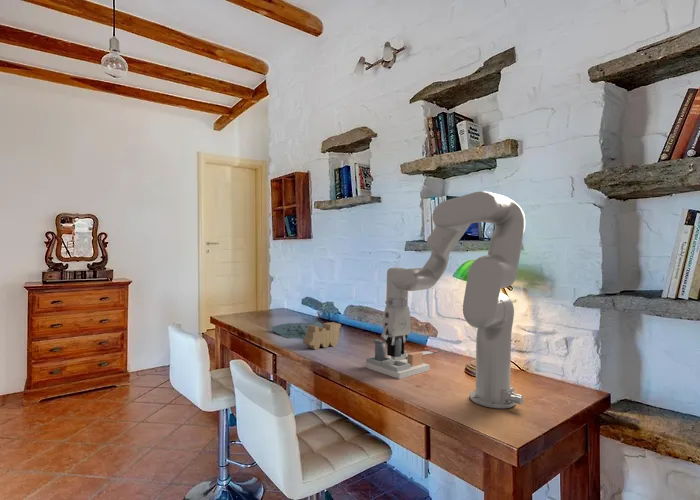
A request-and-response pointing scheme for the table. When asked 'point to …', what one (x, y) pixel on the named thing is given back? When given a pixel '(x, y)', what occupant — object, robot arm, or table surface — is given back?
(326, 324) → the toy train
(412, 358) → the latch bar
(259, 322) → the table surface
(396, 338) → the peg
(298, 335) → the terrain model
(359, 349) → the table surface
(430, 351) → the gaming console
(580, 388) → the table surface
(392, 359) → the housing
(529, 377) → the table surface
